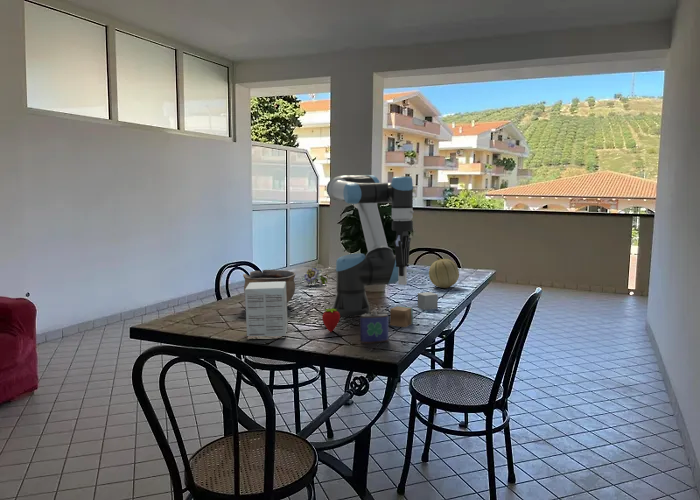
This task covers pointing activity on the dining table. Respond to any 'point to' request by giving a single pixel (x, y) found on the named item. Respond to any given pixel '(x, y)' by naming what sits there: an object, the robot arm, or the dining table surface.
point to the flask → (374, 328)
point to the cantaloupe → (443, 273)
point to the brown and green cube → (401, 316)
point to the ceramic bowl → (273, 279)
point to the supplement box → (266, 309)
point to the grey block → (427, 300)
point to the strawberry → (331, 318)
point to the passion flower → (314, 276)
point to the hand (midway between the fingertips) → (402, 284)
